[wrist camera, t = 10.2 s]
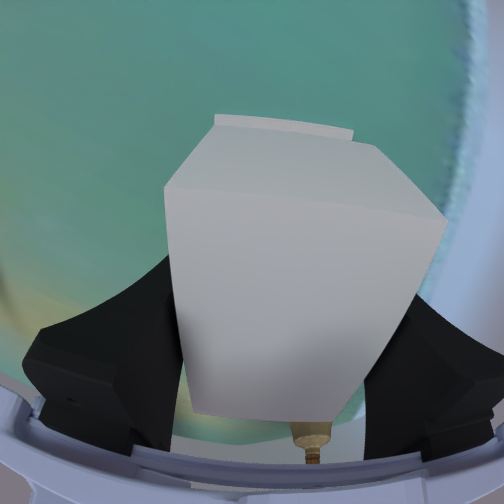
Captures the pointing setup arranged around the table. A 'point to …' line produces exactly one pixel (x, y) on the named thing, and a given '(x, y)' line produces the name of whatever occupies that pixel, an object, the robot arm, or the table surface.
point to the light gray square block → (283, 125)
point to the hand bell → (311, 438)
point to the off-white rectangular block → (290, 268)
